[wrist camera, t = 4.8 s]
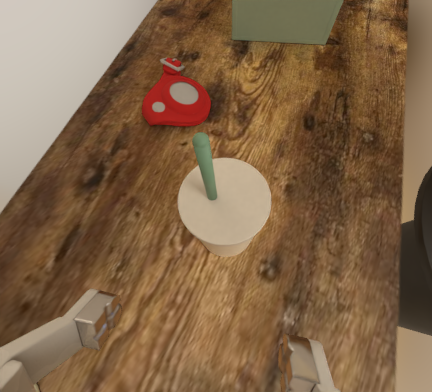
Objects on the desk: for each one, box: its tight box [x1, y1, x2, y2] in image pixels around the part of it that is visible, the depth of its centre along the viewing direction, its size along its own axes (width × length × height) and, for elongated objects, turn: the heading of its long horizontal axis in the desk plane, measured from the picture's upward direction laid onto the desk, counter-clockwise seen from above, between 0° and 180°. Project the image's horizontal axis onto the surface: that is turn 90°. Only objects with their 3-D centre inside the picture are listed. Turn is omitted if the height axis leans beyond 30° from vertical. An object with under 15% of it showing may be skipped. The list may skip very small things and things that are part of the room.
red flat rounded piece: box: [142, 58, 211, 126], centre depth 29 cm, size 12×4×10 cm
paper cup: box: [178, 132, 271, 257], centre depth 15 cm, size 6×6×16 cm
